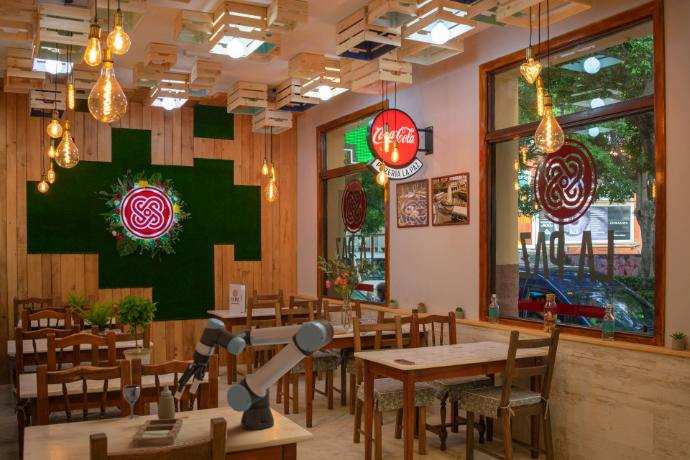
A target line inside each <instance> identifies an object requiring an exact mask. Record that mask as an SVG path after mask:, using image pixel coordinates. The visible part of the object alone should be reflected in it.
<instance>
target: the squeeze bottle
mask: <svg viewBox="0 0 690 460" xmlns="http://www.w3.org/2000/svg"><path fill="white" fill-rule="evenodd" d="M160 395H161V396H160V397H159V398H158V407H157V416H158V420H159V419H175V417H176V408H175V401H174V400H175V399H174V398H175V397H174V396H173V395H172V390H169V385H168V383H164V386H163V391H161V392H160Z"/></svg>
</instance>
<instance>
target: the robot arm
mask: <svg viewBox="0 0 690 460" xmlns="http://www.w3.org/2000/svg"><path fill="white" fill-rule="evenodd" d="M334 337H335V328H334V326H333V323H331V322H330V321H329V320H328V319H327V320H326V319H324V318H317V319H315V320H310V321H305V322H304V323H303V324H294V325H282V326H276V327H275V326H274V327H263V328H262V327H261V328H255V329H247V328H246V329H241V330H239V331H235V332H231V331H228V330H227V329H225V323H224V322H223V321H222V320H219V319H217V318H214V317H213V318H209V319H208V320H207V322H206V324H205V326H204V329H203V331H202V333H201V336H200V337H199V341H198V340H197V345H196V347H195V350H194V351H193V354H192V357H191V358H192V359H193V362H189V363H188V365H187V367H186V369H185V371H184V372H183V373H182V375H181V376H180V378H179V379H178V381H177V384H178V386H177V389H176V391H175V393H174V396H173V398H175V399H176V400H181V397H182V395H183V393H184V391H185V388H186V385H187V383H188V382H189V381H190V379H191V378H192V377H193V376H194V375H195V378H194V380H193V381H192V383H191V385H190V386H191V387H190V389H189V391H188V392H189V393H190V394H193V395H195V394H196V392H197V390H198V387H199V386H200V383H201V382H203V381H204V379H205V375H206V371H207V365H208V363H209V361H210V359H211V357H212V355H213V353H214V350H215V348H216V346H218V347H220V348H222V349H223V350H225V351H227V352H229V353H230V354H233V355H235V356H238V355H240V354H241V353H243V351H244V349H245V348H247V347H248V348H249V347H255V346H264V345H265V346H268V345H269V346H270V345H280V344H286V346H285V347H283V348H282V349H281V350H280V351H278V352H277V353H276V354H275V355H274V356H273V357H272V358H270V360H268V361H267V362H266V363H265V364H264V365H263V366H261V367H260V368H259V369H258V370H257V371H255V372H254V373H253V374H252V373H249V374H244V375H243V376H242V377H243V378H242V379H240V381H239V382H237V383H236V384H233V385H231V386H230V387H229V389H228V390H227V393H226V401H227V403H228V405H229V406H228V407H230V408H231V409H232V410H233V411H236V412H239V413H242V415H241V419H240V428H241V429H244V430H251V431H252V430H253V431H254V430H255V431H256V430H264V429H269V428H271V427H273V426H274V425H275V419H274V415H273V412H272V410H271V405H270V404H271V401H270V400H271V399H270V398H271V397H270V396H271V395H270V393H271V392H270V387H271V386H273V384H275V383H276V382H277V381H278V380H279V379H280V378H282V377H283V376H284V375H285V374H287V372H289V370H292V368H293V367H295V366H296V365H297V364H298V363H299V362H300V361H302V360H303V359H304V358H311V357H312V356H313V355H314V354H315V353H317V351H319V350H320V349H322V348H323V347H325V346H327V345H329V344H330V343H331V342H332V340H333V339H334Z"/></svg>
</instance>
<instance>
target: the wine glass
mask: <svg viewBox="0 0 690 460" xmlns="http://www.w3.org/2000/svg"><path fill="white" fill-rule="evenodd" d="M122 391H123V392H122V394H123V398H124V400H125V401H126V402H127V403H128V404H129V405H130V415H128V416H127V415H126V416H125V417H124V419H125V418H131V419H130V420H133V418H135V419H139V418H140V417H141V416H140V415H137V414H134V405H135V403H136V402H137V400H138V399H139V397H140V392H141V385H140V384H127V385H124V386H122Z"/></svg>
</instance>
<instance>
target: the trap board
mask: <svg viewBox="0 0 690 460" xmlns="http://www.w3.org/2000/svg"><path fill="white" fill-rule="evenodd" d="M182 426H183V417H179V418H175V417H174V419H159V418H158V419H148V420H146V421H145V422H144V423H143V424H142V426H141V428H140V429H139V430H138V432H137V434H136V435H135V436H134V437H133V439H132V447H133V448H140V447H141V448H142V447H154V446H170V445H172V446H173V445H174V443H175V441H176V439H177V437H178V435H179V433H180V431H181V429H182Z"/></svg>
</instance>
